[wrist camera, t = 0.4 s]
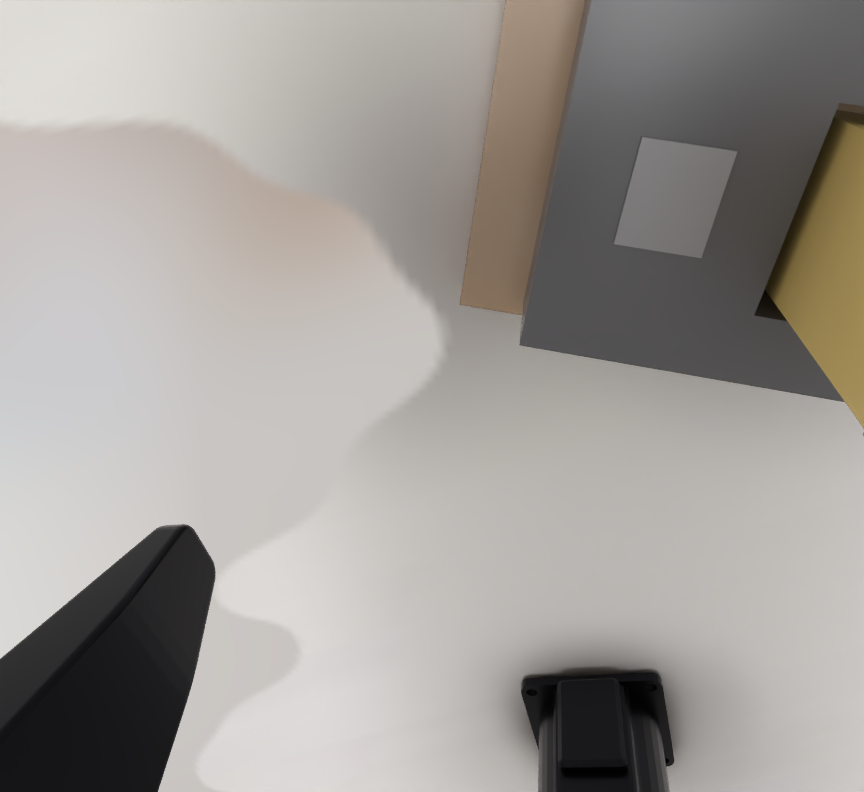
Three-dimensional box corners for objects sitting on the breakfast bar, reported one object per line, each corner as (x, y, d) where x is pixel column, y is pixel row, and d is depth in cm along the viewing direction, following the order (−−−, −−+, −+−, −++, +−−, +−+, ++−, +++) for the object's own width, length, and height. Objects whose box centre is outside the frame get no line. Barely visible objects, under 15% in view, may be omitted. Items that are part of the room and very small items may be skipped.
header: (1074, 391, 22) (1186, 476, 18) (464, 287, 23) (447, 346, 20) (1319, 46, 17) (1551, 64, 13) (518, -61, 18) (509, -76, 14)
